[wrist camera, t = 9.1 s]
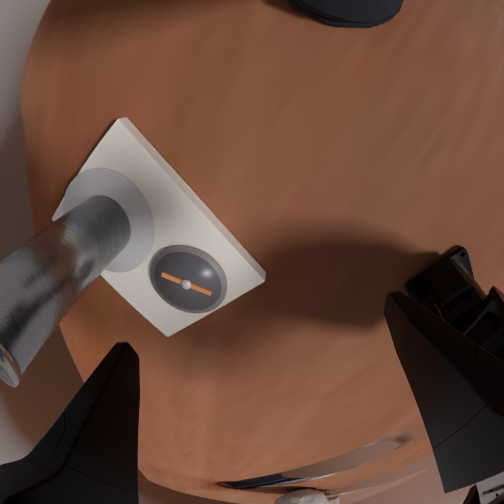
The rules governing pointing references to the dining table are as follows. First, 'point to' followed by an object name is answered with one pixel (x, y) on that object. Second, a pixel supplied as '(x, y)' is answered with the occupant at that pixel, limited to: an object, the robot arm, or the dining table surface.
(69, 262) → the metal tumbler
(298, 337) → the dining table surface
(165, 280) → the dial scale
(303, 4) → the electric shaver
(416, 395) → the robot arm
